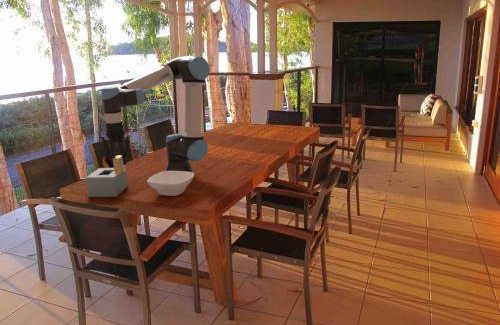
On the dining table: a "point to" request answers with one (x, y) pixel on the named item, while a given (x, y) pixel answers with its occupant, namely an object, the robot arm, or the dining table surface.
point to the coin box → (105, 183)
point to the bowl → (170, 182)
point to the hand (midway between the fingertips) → (120, 171)
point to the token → (117, 164)
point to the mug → (107, 162)
